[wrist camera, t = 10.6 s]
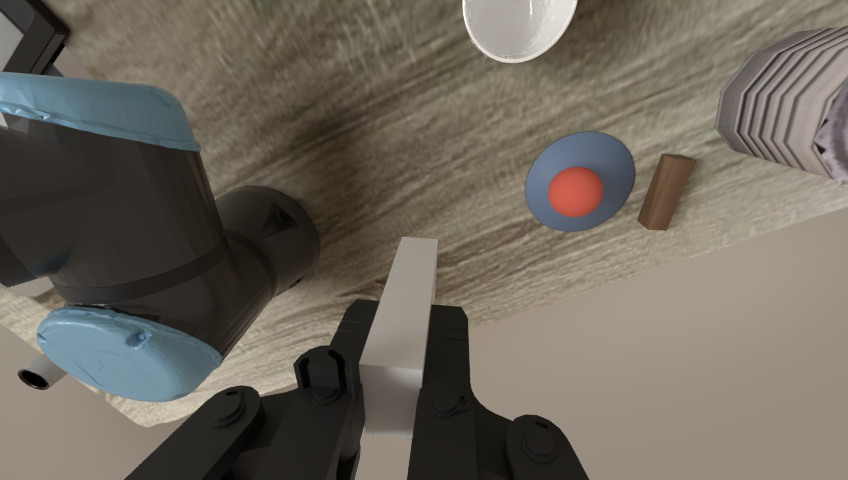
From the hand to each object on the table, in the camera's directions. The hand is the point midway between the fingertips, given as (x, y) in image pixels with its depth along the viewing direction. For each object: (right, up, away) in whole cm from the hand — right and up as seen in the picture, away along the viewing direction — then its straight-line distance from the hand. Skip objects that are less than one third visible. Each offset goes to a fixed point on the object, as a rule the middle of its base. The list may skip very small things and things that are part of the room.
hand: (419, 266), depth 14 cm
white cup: (+8, +23, +18) cm, 30 cm away
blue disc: (+18, +8, +24) cm, 31 cm away
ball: (+17, +6, +22) cm, 28 cm away
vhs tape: (-47, +24, +23) cm, 57 cm away
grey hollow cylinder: (-58, -15, +44) cm, 75 cm away
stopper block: (+27, +7, +23) cm, 37 cm away
